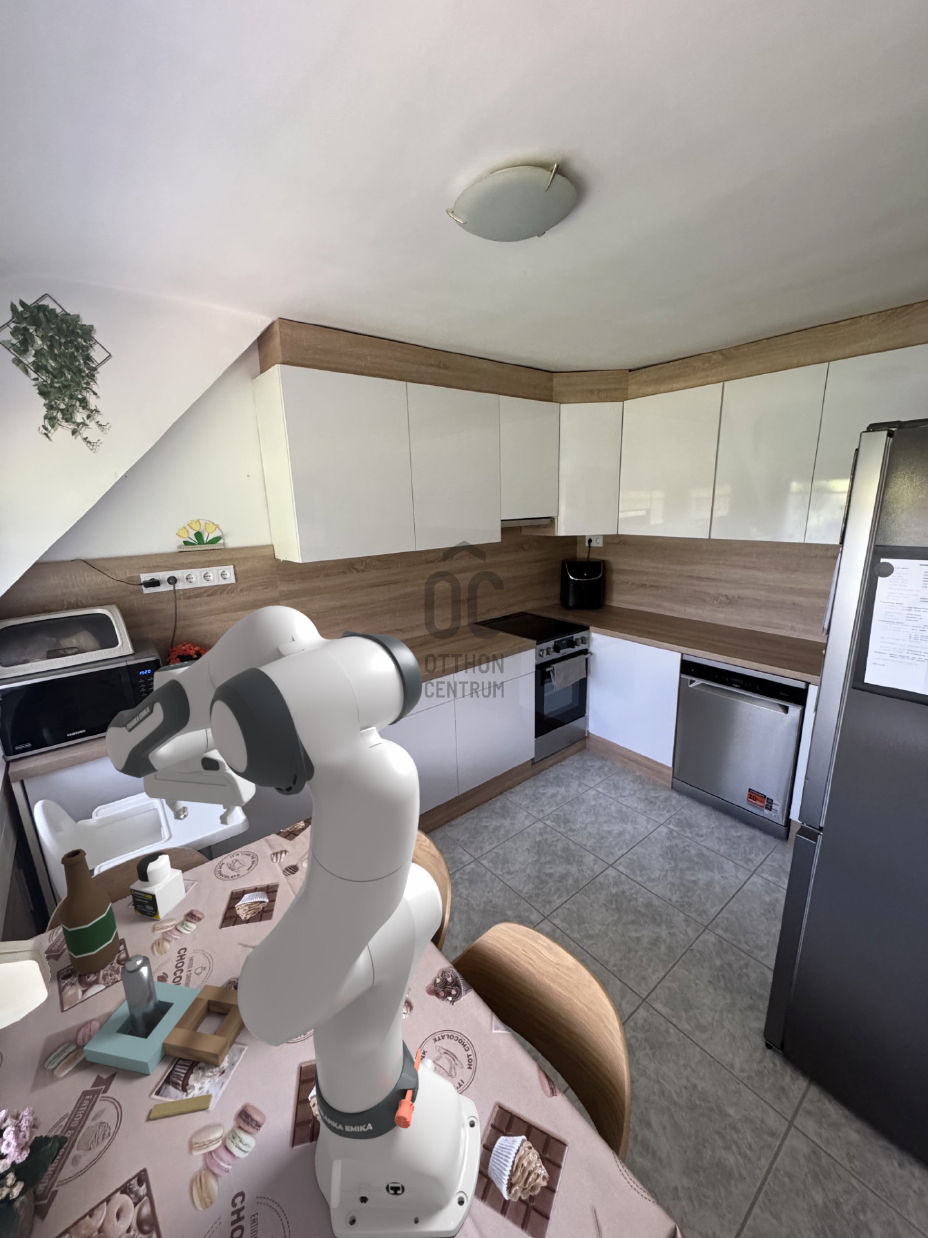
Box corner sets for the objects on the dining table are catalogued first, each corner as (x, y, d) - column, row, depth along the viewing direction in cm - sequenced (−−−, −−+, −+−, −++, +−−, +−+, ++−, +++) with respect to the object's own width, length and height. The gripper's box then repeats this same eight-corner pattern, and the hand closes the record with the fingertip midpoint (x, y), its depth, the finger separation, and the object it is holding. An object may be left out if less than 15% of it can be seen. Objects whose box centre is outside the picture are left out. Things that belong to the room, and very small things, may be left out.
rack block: (203, 1001, 89) (201, 989, 88) (150, 1075, 77) (147, 1062, 76) (146, 990, 91) (144, 979, 90) (86, 1060, 79) (83, 1048, 79)
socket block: (257, 1004, 88) (255, 993, 87) (219, 1066, 78) (217, 1054, 77) (207, 995, 89) (205, 984, 89) (165, 1054, 80) (162, 1042, 79)
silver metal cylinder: (167, 1019, 86) (154, 952, 82) (149, 1043, 82) (134, 974, 78) (147, 1015, 86) (133, 948, 83) (128, 1039, 82) (112, 970, 79)
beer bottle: (130, 943, 101) (108, 841, 96) (99, 978, 93) (73, 869, 88) (95, 941, 102) (71, 839, 96) (62, 976, 94) (34, 867, 89)
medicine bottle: (134, 914, 108) (124, 867, 106) (162, 890, 115) (153, 845, 112) (159, 921, 106) (150, 873, 103) (186, 896, 113) (178, 851, 110)
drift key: (212, 1099, 74) (211, 1094, 74) (209, 1110, 73) (208, 1105, 72) (155, 1110, 73) (154, 1105, 73) (150, 1122, 71) (149, 1117, 71)
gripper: (127, 755, 85) (141, 825, 88) (232, 763, 81) (243, 837, 84) (156, 738, 91) (168, 805, 94) (255, 745, 87) (264, 815, 91)
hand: (204, 820), depth 89 cm, fingers open, 8 cm apart
